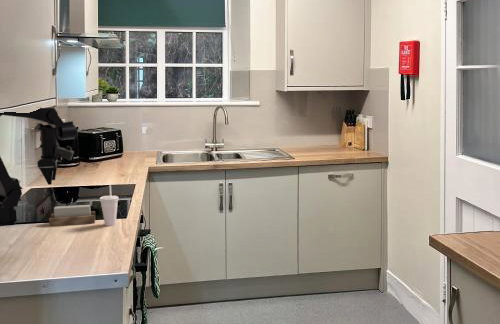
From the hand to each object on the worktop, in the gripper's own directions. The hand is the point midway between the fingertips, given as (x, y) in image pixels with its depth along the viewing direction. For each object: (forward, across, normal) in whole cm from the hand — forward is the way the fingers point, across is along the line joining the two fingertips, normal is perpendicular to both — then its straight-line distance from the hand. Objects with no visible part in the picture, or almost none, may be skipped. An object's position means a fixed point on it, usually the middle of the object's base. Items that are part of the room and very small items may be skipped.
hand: (51, 182), depth 202 cm
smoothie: (+12, -22, -22) cm, 34 cm away
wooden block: (+12, -16, -9) cm, 22 cm away
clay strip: (+11, -16, -9) cm, 21 cm away
